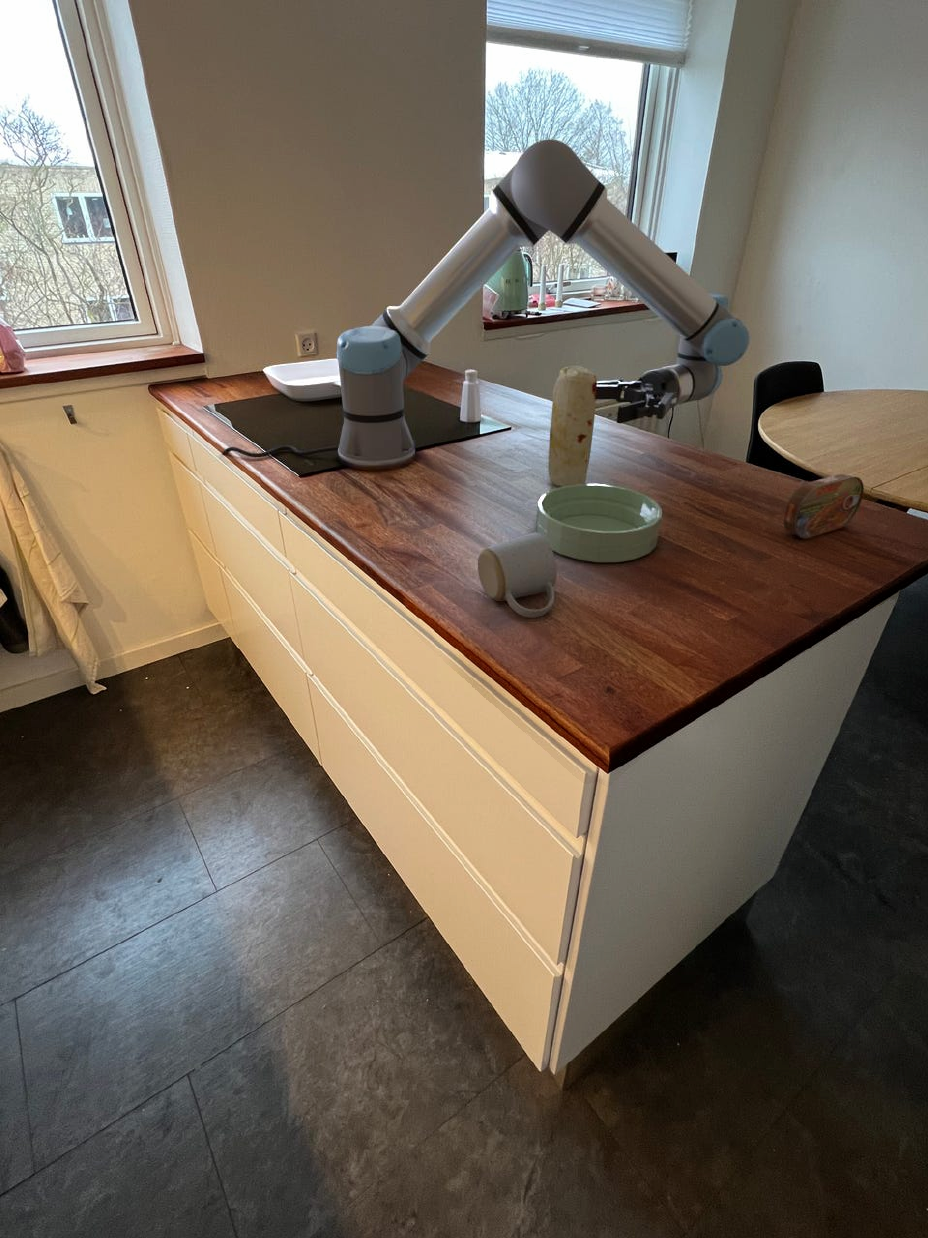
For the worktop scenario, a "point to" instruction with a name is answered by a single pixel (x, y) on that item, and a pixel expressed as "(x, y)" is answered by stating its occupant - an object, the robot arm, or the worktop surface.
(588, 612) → the worktop surface
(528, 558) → the ceramic mug
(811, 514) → the tin
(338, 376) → the pan
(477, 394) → the pepper shaker
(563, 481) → the food model
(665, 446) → the worktop surface
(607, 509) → the bowl
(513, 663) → the worktop surface
